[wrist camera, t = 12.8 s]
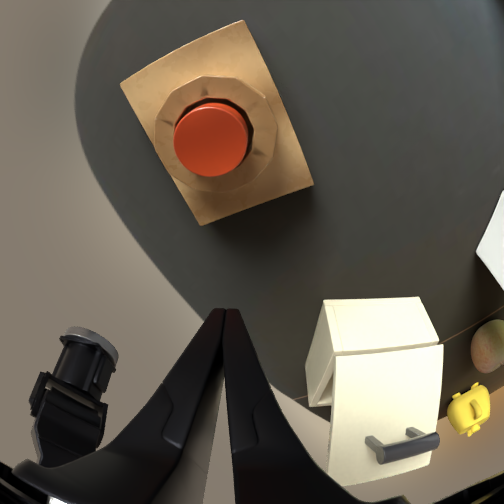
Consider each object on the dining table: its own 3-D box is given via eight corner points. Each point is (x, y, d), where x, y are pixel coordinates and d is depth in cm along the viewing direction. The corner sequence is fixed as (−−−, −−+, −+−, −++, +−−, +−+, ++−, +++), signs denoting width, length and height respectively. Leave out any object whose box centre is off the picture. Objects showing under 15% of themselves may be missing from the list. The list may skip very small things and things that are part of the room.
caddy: (383, 359, 33) (393, 397, 28) (304, 364, 33) (309, 407, 28) (418, 296, 26) (439, 340, 21) (323, 299, 26) (334, 351, 21)
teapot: (477, 395, 49) (487, 428, 41) (441, 413, 53) (450, 447, 44) (489, 370, 40) (504, 410, 31) (446, 392, 43) (459, 435, 35)
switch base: (309, 175, 19) (319, 197, 16) (204, 214, 21) (196, 241, 18) (244, 23, 13) (241, 13, 10) (130, 81, 15) (105, 87, 12)
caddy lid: (425, 462, 18) (453, 480, 13) (323, 485, 18) (338, 515, 13) (438, 344, 21) (474, 344, 16) (333, 355, 21) (356, 362, 16)
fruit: (485, 309, 28) (510, 356, 21) (508, 311, 28) (531, 351, 22) (454, 345, 32) (472, 390, 26) (480, 344, 33) (497, 383, 26)
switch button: (259, 150, 15) (259, 161, 13) (199, 175, 16) (193, 188, 14) (231, 91, 13) (227, 94, 11) (169, 120, 14) (159, 127, 12)
